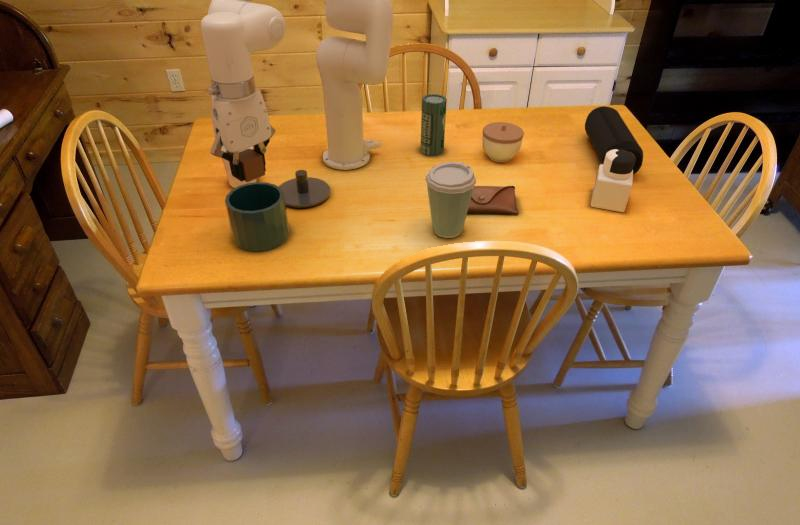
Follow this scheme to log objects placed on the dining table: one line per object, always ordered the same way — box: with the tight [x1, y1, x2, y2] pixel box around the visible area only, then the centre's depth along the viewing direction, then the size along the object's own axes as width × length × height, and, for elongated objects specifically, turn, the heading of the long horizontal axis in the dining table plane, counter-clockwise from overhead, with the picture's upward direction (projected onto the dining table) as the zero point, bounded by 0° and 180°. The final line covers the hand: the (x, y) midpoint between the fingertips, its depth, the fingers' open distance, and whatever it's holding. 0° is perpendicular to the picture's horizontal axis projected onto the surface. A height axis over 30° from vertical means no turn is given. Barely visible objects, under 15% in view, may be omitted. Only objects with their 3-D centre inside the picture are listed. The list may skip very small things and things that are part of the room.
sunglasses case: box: [467, 185, 519, 215], centre depth 133 cm, size 18×7×7 cm
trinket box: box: [481, 121, 525, 163], centre depth 150 cm, size 11×11×9 cm
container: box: [590, 149, 636, 213], centre depth 132 cm, size 8×8×13 cm
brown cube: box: [239, 148, 266, 182], centre depth 113 cm, size 4×4×4 cm
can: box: [419, 93, 448, 157], centre depth 150 cm, size 6×6×15 cm
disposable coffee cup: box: [425, 161, 477, 239], centre depth 121 cm, size 11×11×15 cm
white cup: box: [221, 146, 258, 189], centre depth 138 cm, size 8×8×10 cm
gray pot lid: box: [278, 169, 331, 208], centre depth 135 cm, size 13×13×6 cm
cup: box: [224, 181, 290, 253], centre depth 121 cm, size 12×12×10 cm
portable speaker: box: [584, 105, 644, 176], centre depth 150 cm, size 26×10×10 cm, turn 178°
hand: (249, 173), depth 114 cm, fingers closed on brown cube, 4 cm apart
